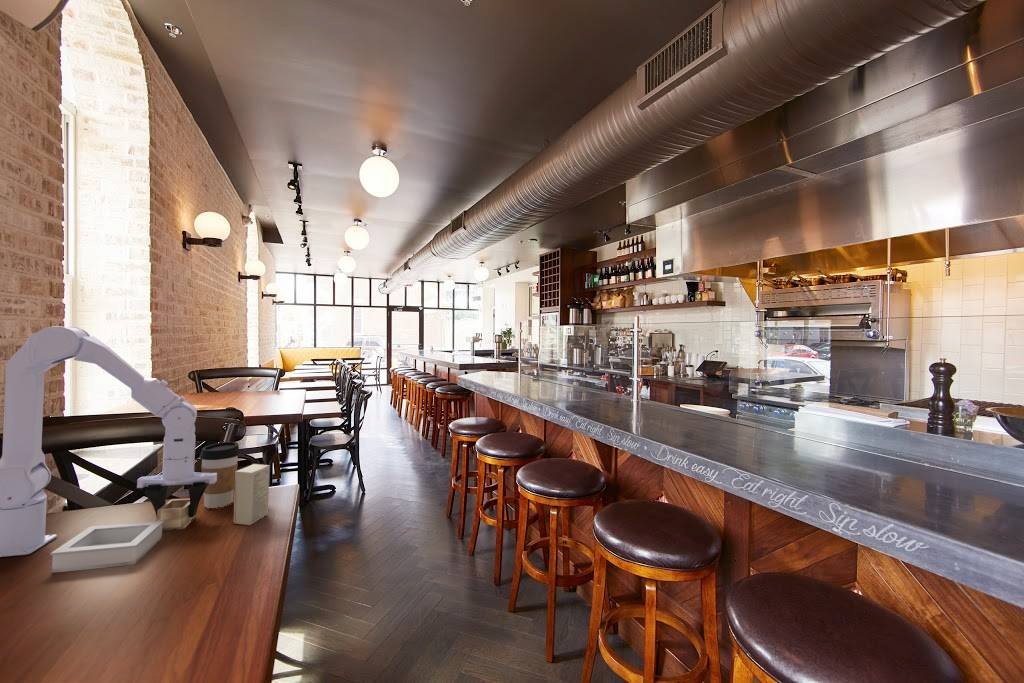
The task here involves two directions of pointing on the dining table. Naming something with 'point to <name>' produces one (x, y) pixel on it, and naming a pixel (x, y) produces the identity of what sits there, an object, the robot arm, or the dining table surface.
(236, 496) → the skincare box
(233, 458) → the coffee cup
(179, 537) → the dining table surface
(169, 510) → the birch crate
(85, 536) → the white square tray
